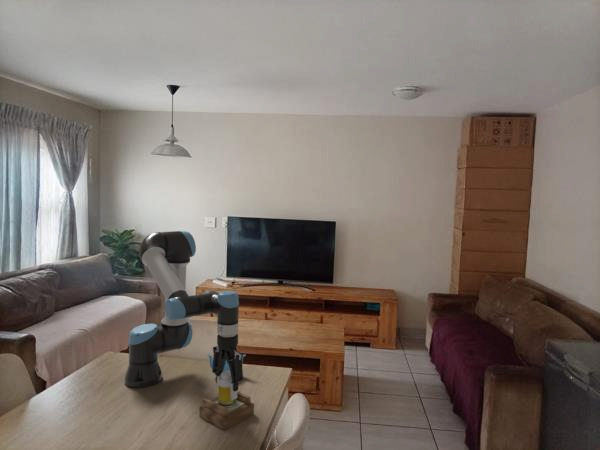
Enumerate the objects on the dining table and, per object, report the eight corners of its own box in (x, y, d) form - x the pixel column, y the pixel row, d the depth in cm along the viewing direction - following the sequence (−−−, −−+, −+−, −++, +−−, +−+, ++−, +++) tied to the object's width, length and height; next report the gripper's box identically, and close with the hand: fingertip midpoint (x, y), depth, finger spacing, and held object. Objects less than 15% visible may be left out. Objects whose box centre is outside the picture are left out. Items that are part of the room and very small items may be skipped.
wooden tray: (199, 416, 148) (199, 399, 147) (228, 401, 159) (228, 385, 158) (225, 430, 139) (225, 412, 139) (253, 414, 150) (254, 397, 150)
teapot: (229, 367, 191) (229, 346, 190) (247, 376, 182) (247, 354, 181) (206, 375, 181) (206, 353, 181) (223, 385, 172) (223, 362, 172)
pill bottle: (232, 409, 145) (232, 377, 144) (215, 407, 146) (215, 375, 145) (238, 400, 151) (238, 370, 150) (222, 398, 152) (222, 368, 152)
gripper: (202, 330, 150) (201, 391, 151) (238, 342, 138) (238, 408, 139) (218, 326, 156) (217, 384, 157) (254, 337, 144) (253, 400, 145)
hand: (227, 395), depth 148 cm, fingers closed on pill bottle, 6 cm apart
